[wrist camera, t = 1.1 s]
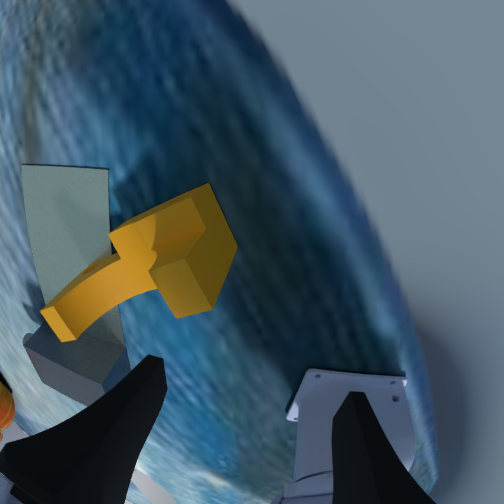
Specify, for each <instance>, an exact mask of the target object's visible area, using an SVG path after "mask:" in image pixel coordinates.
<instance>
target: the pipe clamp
mask: <svg viewBox="0 0 504 504" xmlns="http://www.w3.org/2000/svg"><path fill="white" fill-rule="evenodd" d="M108 236H109V238H110V239H111V241H112V243H113V245H114V247H115V249H116V250H117V253H115V254H112V255H110V256H108V257H106V258H103V259H101V260H99V261H97V262H95V263H93V264H90V265H89V266H88V267H87V268H85V269H84V270H83V271H82V272H81V273H80V274H79V275H78V276H76V277H75V278H74V279H73V280H72V281H71V282H70V283H69V284H68V285H67V286H66V287H64V288H63V289H62V290H61V291H60V292H59V293H58V294H57V295H56V296H55V297H54V298H53V299H52V300H51V301H50V302H49V303H48V304H47V305H46V306H44V307H43V308H42V309H41V310H40V312H41V314H42V315H43V317H44V318H45V320H46V321H47V322H48V324H49V325H50V327H51V328H52V330H53V331H54V332H55V334H56V335H57V336H58V338H59V339H60V340H61V342H66V341H71V340H77V339H78V337H79V336H80V335H81V334H82V333H83V332H84V331H85V330H86V329H87V328H88V327H89V326H90V325H91V324H92V323H93V322H94V321H96V320H97V319H98V318H99V317H100V316H102V315H103V314H104V313H106V312H107V311H109V310H110V309H112V308H113V307H115V306H116V305H118V304H120V303H122V302H123V301H125V300H127V299H129V298H131V297H133V296H136V295H138V294H141V293H143V292H146V291H150V290H154V289H158V290H159V291H160V293H161V295H162V296H163V298H164V299H165V301H166V303H167V304H168V306H169V307H170V309H171V311H172V312H173V314H174V315H175V317H176V319H177V318H181V317H185V316H189V315H193V314H197V313H202V312H206V311H210V310H213V308H214V306H215V303H216V301H217V298H218V296H219V293H220V291H221V288H222V286H223V283H224V281H225V278H226V276H227V273H228V271H229V268H230V266H231V263H232V261H233V258H234V256H235V253H236V251H237V248H238V245H237V243H236V241H235V239H234V237H233V235H232V232H231V230H230V228H229V226H228V224H227V222H226V219H225V217H224V215H223V213H222V211H221V208H220V206H219V204H218V202H217V200H216V197H215V195H214V193H213V191H212V189H211V186H210V184H209V183H207V184H204V185H202V186H200V187H197V188H195V189H193V190H190V191H188V192H186V193H184V194H182V195H179V196H177V197H175V198H173V199H171V200H168V201H166V202H164V203H162V204H160V205H158V206H156V207H153V208H151V209H149V210H147V211H145V212H143V213H141V214H139V215H137V216H135V217H133V218H131V219H129V220H127V221H125V222H124V223H123V224H121V225H120V226H118V227H117V228H116V229H114V230H113V231H112V232H110V233H109V234H108Z"/></svg>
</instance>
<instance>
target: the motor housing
mask: <svg viewBox="0 0 504 504" xmlns="http://www.w3.org/2000/svg"><path fill="white" fill-rule="evenodd" d="M21 166H22V182H23V194H24V203H25V211H26V219H27V225H28V231H29V237H30V243H31V248H32V253H33V258H34V262H35V267H36V271H37V275H38V279H39V283H40V287H41V290H42V294H43V297H44V301H45V304H46V305H47V304H48V303H49V302H50V301H51V300H52V299H53V298H54V297H55V296H56V295H57V294H58V293H59V292H60V291H61V290H62V289H63V288H64V287H66V286H67V285H68V284H69V283H70V282H71V281H72V280H73V279H74V278H75V277H76V276H78V275H79V274H80V273H81V272H82V271H83V270H84V269H85V268H87V267H88V266H89V265H90V264H93V263H95V262H97V261H99V260H101V259H103V258H106V257H108V256H110V255H112V244H111V239H110V238H109V236H108V234H109V233H110V232H111V230H110V210H109V170H106V169H93V168H79V167H62V166H39V165H21ZM23 346H24V348H25V349H26V352H27V354H28V356H29V358H30V360H31V362H32V364H33V366H34V368H35V369H36V371H37V373H38V375H39V377H40V379H41V381H42V382H43V383H44V384H46V385H48V386H50V387H51V388H53V389H55V390H57V391H58V392H60V393H62V394H64V395H66V396H68V397H70V398H72V399H74V400H76V401H78V402H80V403H82V404H84V405H86V406H89V405H91V404H92V403H94V402H95V401H96V400H97V399H99V398H100V397H101V396H103V395H104V394H105V393H107V392H108V391H109V390H110V389H111V388H112V387H114V386H115V385H116V384H117V383H118V382H119V381H121V380H122V379H123V378H124V377H125V376H126V375H127V374H128V373H129V372H130V371H131V368H130V363H129V359H128V354H127V349H126V345H125V340H124V334H123V329H122V323H121V317H120V311H119V305H116V306H115V307H113V308H112V309H110V310H109V311H107V312H106V313H104V314H103V315H102V316H100V317H99V318H98V319H97V320H96V321H94V322H93V323H92V324H91V325H90V326H89V327H88V328H87V329H86V330H85V331H84V332H83V333H82V334H81V335H80V336H79V337H78V339H77V340H71V341H66V342H61V340H60V339H59V338H58V336H57V335H56V334H55V332H54V331H53V330H52V328H51V327H50V325H49V324H48V322H47V321H45V322H44V323H43V324H42V325H41V327H40V328H39V329H38V330H37V331H36V332H35V333H34V334H31V333H27V334H26V335H25V336H24V338H23Z"/></svg>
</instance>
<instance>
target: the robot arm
mask: <svg viewBox="0 0 504 504" xmlns="http://www.w3.org/2000/svg"><path fill="white" fill-rule="evenodd" d="M317 374H319V375H317ZM406 383H407V378H406V377H399V376H382V375H368V374H357V373H347V372H337V371H329V370H321V369H309V370H307V371H306V373H305V376H304V378H303V380H302V382H301V385H300V387H299V389H298V391H297V394H296V396H295V398H294V400H293V402H292V405H291V407H290V409H289V411H288V413H287V417H286V418H287V419H288V420H291V421H298V426H297V442H296V457H295V470H294V482H293V483H291V484H285V490H284V494H281V495H278V496H277V497H276V498H275V499H274V500H273V501H272V502H271V504H436V503H435V502H434V501H433V500H432V499H431V498H430V497H429V496H428V495H427V494H426V493H425V492H424V490H423V489H422V488H421V487H420V486H419V485H418V484H417V482H416V481H415V480H414V479H413V477H412V476H411V475H410V473H409V472H408V470H409V469H410V467H411V465H412V463H413V460H414V457H415V451H416V436H415V431H414V427H413V422H412V418H411V414H410V410H409V406H408V402H407V398H406V394H405V390H404V386H405V385H406ZM166 392H167V383H166V376H165V368H164V361H163V358H159V357H156V356H152V355H147V356H146V357H145V358H144V359H143V360H142V361H141V362H140V363H139V364H138V365H137V366H136V367H135V368H134V369H133V370H131V371H130V372H129V373H128V374H127V375H126V376H125V377H124V378H123V379H122V380H121V381H119V382H118V383H117V384H116V385H115V386H114V387H112V388H111V389H110V390H109V391H108V392H107V393H105V394H104V395H103V396H101V397H100V398H99V399H97V400H96V401H95V402H94V403H92V404H91V405H89V406H88V407H87V408H85V409H84V410H82V411H80V412H79V413H77V414H76V415H74V416H72V417H71V418H69V419H67V420H65V421H63V422H62V423H60V424H58V425H56V426H54V427H52V428H49V429H47V430H45V431H42V432H40V433H37V434H35V435H32V436H29V437H27V438H23V439H20V440H16V441H12V442H9V443H6V444H5V446H4V447H3V449H2V450H1V452H0V472H1V473H2V474H3V475H4V476H3V475H2V474H1V473H0V504H124V503H125V499H126V495H127V491H128V487H129V484H130V481H131V477H132V474H133V471H134V468H135V465H136V462H137V459H138V457H139V454H140V452H141V450H142V448H143V446H144V443H145V441H146V439H147V437H148V435H149V433H150V431H151V429H152V427H153V425H154V423H155V421H156V419H157V416H158V414H159V412H160V410H161V407H162V404H163V401H164V398H165V395H166ZM7 478H8V479H7Z"/></svg>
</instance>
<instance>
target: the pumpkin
mask: <svg viewBox="0 0 504 504" xmlns="http://www.w3.org/2000/svg"><path fill="white" fill-rule="evenodd" d="M14 415H15V404H14V400H13V396H12V394H11V392H10V391H9V389H8V388H7V387H6V386H5V385H4V384H3V383H2V382H1V381H0V441H1V440H2V437H3V435H2V432H3V430H4V429H6V428H7V427H8V426H9V425H10V424H11V423H12V421H13V419H14Z"/></svg>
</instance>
